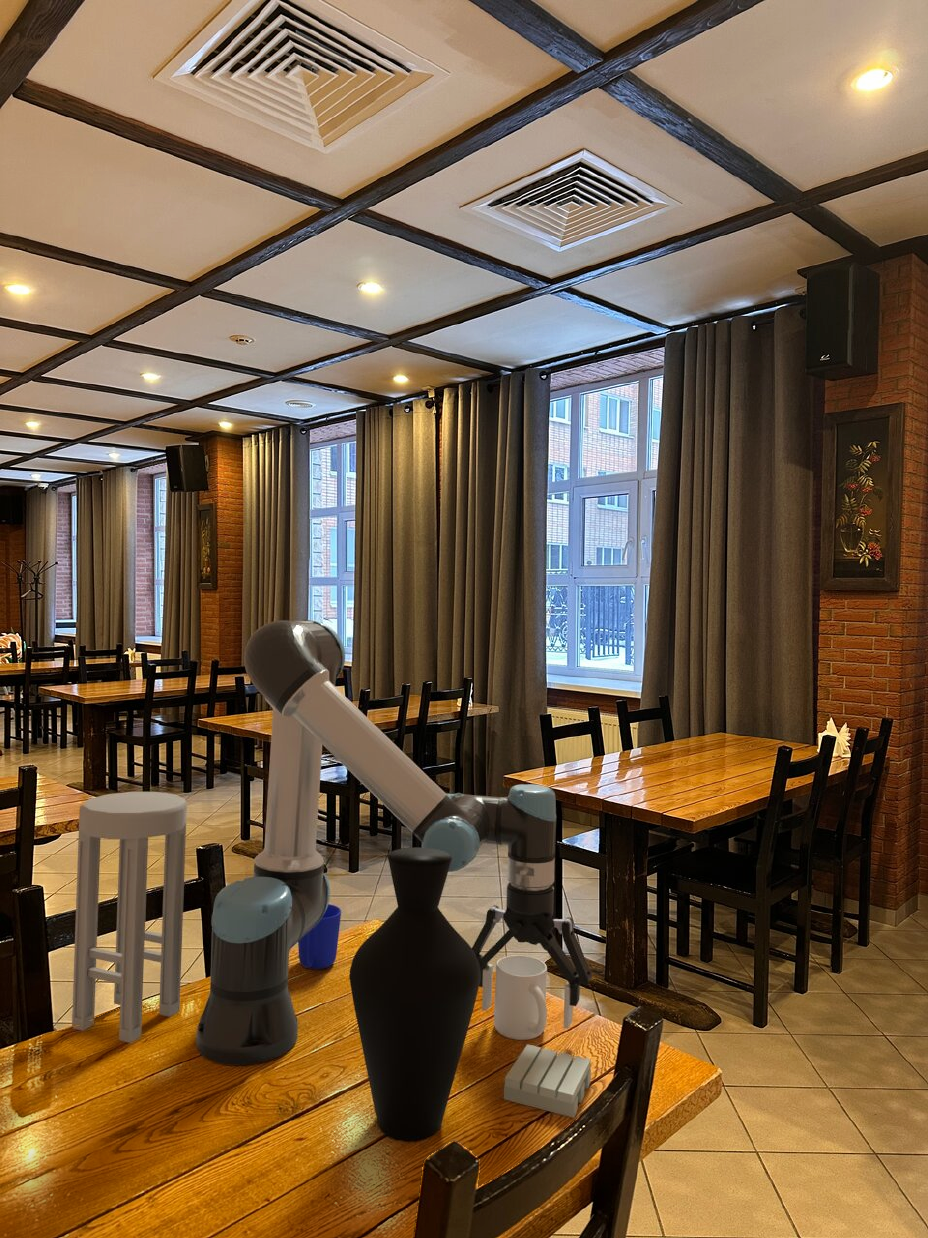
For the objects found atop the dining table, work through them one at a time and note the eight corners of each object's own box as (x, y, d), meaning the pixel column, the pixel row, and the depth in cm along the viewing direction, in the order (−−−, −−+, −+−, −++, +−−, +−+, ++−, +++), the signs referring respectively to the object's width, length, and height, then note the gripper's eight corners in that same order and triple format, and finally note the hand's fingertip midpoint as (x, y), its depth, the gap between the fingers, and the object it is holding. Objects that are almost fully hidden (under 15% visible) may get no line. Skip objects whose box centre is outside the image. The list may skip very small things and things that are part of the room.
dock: (502, 1100, 117) (503, 1077, 117) (525, 1065, 126) (525, 1044, 126) (573, 1119, 113) (574, 1095, 113) (590, 1081, 122) (591, 1059, 122)
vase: (355, 1082, 120) (364, 836, 120) (475, 1089, 119) (485, 841, 119) (332, 1160, 103) (343, 873, 103) (473, 1168, 102) (484, 880, 102)
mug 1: (280, 979, 152) (282, 924, 152) (304, 953, 164) (306, 901, 164) (324, 984, 151) (326, 928, 151) (344, 957, 163) (346, 905, 162)
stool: (122, 990, 145) (129, 787, 145) (197, 1008, 140) (205, 797, 140) (51, 1031, 131) (58, 805, 130) (131, 1052, 125) (140, 817, 125)
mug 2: (566, 1047, 132) (568, 982, 132) (519, 1057, 128) (521, 989, 128) (529, 1013, 143) (531, 952, 143) (485, 1021, 139) (487, 958, 139)
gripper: (449, 879, 137) (446, 1010, 137) (602, 902, 127) (598, 1043, 127) (466, 866, 144) (463, 991, 144) (612, 888, 134) (608, 1021, 134)
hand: (526, 1016), depth 136 cm, fingers open, 13 cm apart
